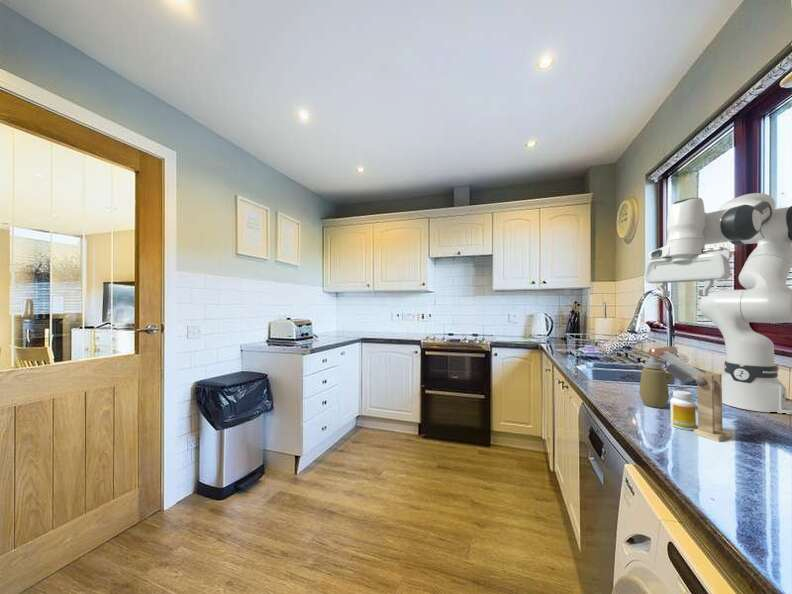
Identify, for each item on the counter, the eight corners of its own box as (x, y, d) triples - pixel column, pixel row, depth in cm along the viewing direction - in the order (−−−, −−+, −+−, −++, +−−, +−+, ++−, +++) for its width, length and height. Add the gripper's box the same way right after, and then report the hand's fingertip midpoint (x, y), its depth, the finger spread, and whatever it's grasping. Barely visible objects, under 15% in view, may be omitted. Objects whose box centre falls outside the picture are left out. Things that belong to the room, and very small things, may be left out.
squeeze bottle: (633, 401, 116) (632, 350, 116) (657, 402, 116) (656, 350, 116) (650, 409, 108) (649, 354, 108) (676, 409, 108) (675, 354, 108)
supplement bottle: (700, 431, 90) (700, 395, 90) (678, 430, 91) (677, 394, 91) (687, 424, 95) (687, 390, 95) (666, 422, 96) (665, 389, 96)
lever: (663, 355, 103) (670, 344, 101) (716, 389, 91) (726, 377, 89) (643, 357, 99) (651, 346, 97) (697, 393, 87) (707, 381, 85)
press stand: (707, 429, 91) (706, 371, 91) (732, 436, 86) (730, 374, 86) (693, 434, 88) (692, 373, 88) (718, 441, 83) (717, 377, 83)
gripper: (735, 247, 93) (735, 296, 92) (653, 257, 111) (652, 298, 110) (724, 244, 90) (724, 294, 89) (642, 254, 108) (640, 296, 108)
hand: (683, 296), depth 100 cm, fingers open, 8 cm apart
